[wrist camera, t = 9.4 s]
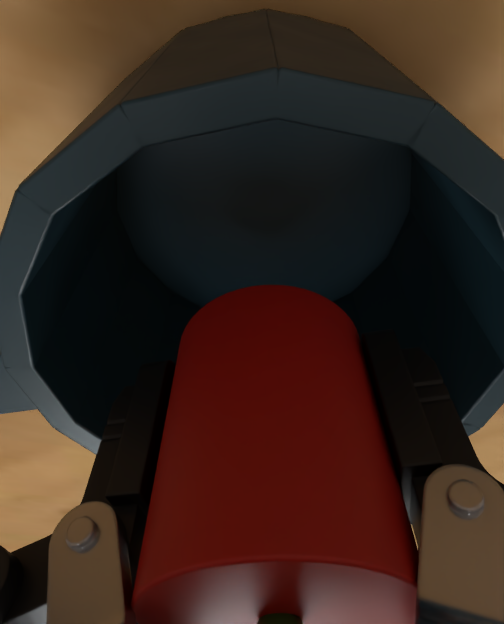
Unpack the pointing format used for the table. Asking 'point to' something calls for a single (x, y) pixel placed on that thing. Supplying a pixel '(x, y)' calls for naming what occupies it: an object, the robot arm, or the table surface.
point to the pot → (251, 217)
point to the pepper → (274, 475)
